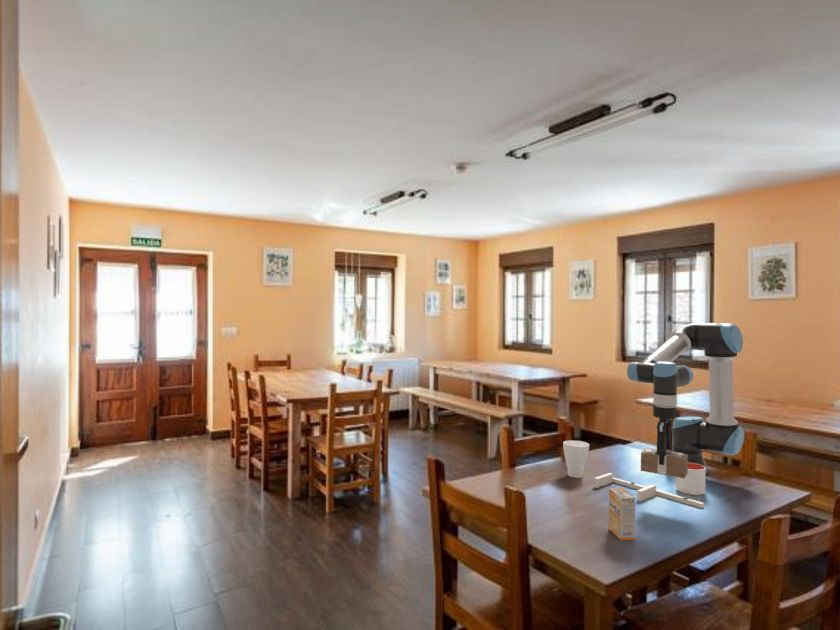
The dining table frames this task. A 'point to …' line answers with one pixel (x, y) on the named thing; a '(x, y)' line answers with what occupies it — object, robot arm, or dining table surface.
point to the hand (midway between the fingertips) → (663, 470)
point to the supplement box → (622, 513)
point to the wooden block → (674, 463)
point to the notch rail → (643, 490)
